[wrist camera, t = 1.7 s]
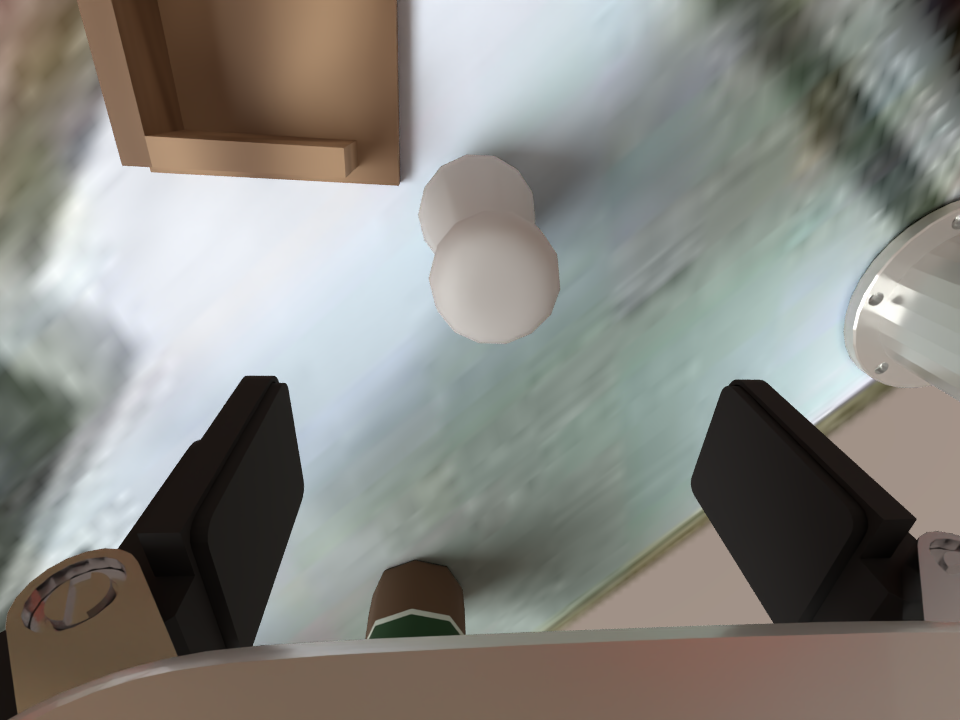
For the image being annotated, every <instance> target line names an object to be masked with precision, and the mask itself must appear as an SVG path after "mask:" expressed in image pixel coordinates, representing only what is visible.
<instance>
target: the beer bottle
mask: <svg viewBox="0 0 960 720" xmlns="http://www.w3.org/2000/svg"><path fill="white" fill-rule="evenodd" d="M452 635H466V633H465V608H464V599H463V589H462V588H461V586H460V585H459V583H458V582H457V580H456V579H455V578H454V576H453V575H452V573H451V572H450V571H449V569H448V568H447V567H446V566H441V565H437V564H432V563H427V562H422V561H418V560H414V561H411V562H408V563H405V564H402V565H399V566H396V567H393V568H390V569H388V570H385V571H384V573H383V574H382V576H381V579H380V581H379V583H378V585H377V587H376V590H375V592H374V594H373V597H372V602H371V607H370V612H369V617H368V624H367V631H366V638H365V639H382V638H405V637H428V636H452Z"/></svg>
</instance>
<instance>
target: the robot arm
mask: <svg viewBox="0 0 960 720" xmlns="http://www.w3.org/2000/svg"><path fill="white" fill-rule="evenodd" d="M843 332H844V340H845V347H846V349H847V352H848V354H849V356H850V359H851V360H852V361H853V362H854V363H855V365H856V366H857V367H858V368H859V369H860V370H862V371H863V372H864V373H866V374H867V375H869V376H870V377H871V378H873V379H875V380H877V381H879V382H881V383H883V384H885V385H890V386H895V387H899V388H918V387H926V386H935V387H936V388H938V389H940V390H942V391H943V392H945V393H946V394H948V395H950V396H951V397H953V398H955V399H956V400H958V401H960V200H959V201H956V202H953V203H950V204H948V205H946V206H944V207H942V208H940V209H938V210H936V211H934V212H932V213H930V214H928V215H927V216H925V217H924V218H922V219H921V220H919V221H917V222H916V223H914V224H913V225H911V226H910V227H908V228H907V229H906V230H905V231H904V232H902V233H901V234H900V235H899V236H898V237H897V238H895V239H894V240H893V241H892V242H891V243H890V244H889V245H888V246H887V247H886V248H885V249H884V250H883V251H882V252H881V253H880V254H879V255H878V257H877V258H876V259H875V260H874V261H873V262H872V264H871V265H870V266H869V268H868V269H867V271H866V272H865V273H864V275H863V276H862V278H861V279H860V281H859V283H858V285H857V287H856V289H855V291H854V293H853V295H852V297H851V299H850V302H849V305H848V309H847V312H846V315H845V323H844V331H843ZM691 488H692V491H693V494H694V496H695V497H696V499H697V500H698V502H699V504H700V505H701V507H702V509H703V510H704V512H705V513H706V515H707V517H708V518H709V520H710V521H711V523H712V525H713V526H714V528H715V530H716V531H717V533H718V534H719V536H720V537H721V539H722V541H723V542H724V544H725V546H726V547H727V549H728V550H729V552H730V553H731V555H732V557H733V558H734V560H735V562H736V563H737V565H738V567H739V568H740V570H741V571H742V573H743V575H744V576H745V578H746V579H747V581H748V582H749V584H750V586H751V588H752V589H753V591H754V592H755V594H756V596H757V597H758V599H759V600H760V602H761V604H762V605H763V607H764V609H765V610H766V612H767V613H768V615H769V617H770V618H771V620H772V621H773V623H774V624H746V625H714V626H685V627H657V628H629V629H602V630H575V631H549V632H522V633H499V634H475V635H452V636H428V637H405V638H382V639H360V640H344V641H327V642H310V643H293V644H277V645H261V646H253V643H254V640H255V637H256V634H257V632H258V629H259V626H260V623H261V620H262V617H263V614H264V611H265V608H266V605H267V602H268V599H269V596H270V593H271V590H272V587H273V584H274V581H275V578H276V575H277V572H278V569H279V567H280V564H281V561H282V558H283V555H284V552H285V549H286V546H287V543H288V540H289V537H290V534H291V531H292V528H293V525H294V522H295V519H296V516H297V513H298V510H299V507H300V504H301V502H302V498H303V493H304V480H303V474H302V468H301V462H300V456H299V450H298V444H297V438H296V432H295V426H294V420H293V414H292V408H291V402H290V396H289V390H288V386H287V384H286V383H279V381H278V379H277V377H275V376H245V377H244V378H243V379H242V380H241V382H240V383H239V385H238V386H237V387H236V389H235V390H234V392H233V393H232V395H231V396H230V398H229V399H228V401H227V402H226V404H225V405H224V406H223V408H222V409H221V411H220V412H219V414H218V415H217V417H216V418H215V420H214V421H213V423H212V424H211V426H210V427H209V428H208V430H207V431H206V433H205V434H204V436H203V437H202V439H201V440H198V441H195V442H194V443H193V444H192V445H191V446H190V447H189V448H188V450H187V451H186V452H185V454H184V455H183V457H182V458H181V460H180V461H179V462H178V464H177V465H176V467H175V468H174V469H173V471H172V472H171V474H170V475H169V477H168V478H167V479H166V481H165V482H164V484H163V485H162V487H161V488H160V489H159V491H158V492H157V494H156V495H155V497H154V498H153V499H152V501H151V502H150V504H149V505H148V507H147V508H146V509H145V511H144V512H143V514H142V515H141V516H140V518H139V519H138V521H137V522H136V524H135V525H134V526H133V528H132V529H131V531H130V532H129V534H128V535H127V536H126V538H125V539H124V541H123V542H122V544H121V545H120V546H119V548H118V549H106V548H104V549H98V550H93V551H87V552H84V553H81V554H79V555H76V556H73V557H70V558H68V559H66V560H64V561H62V562H60V563H58V564H56V565H54V566H53V567H51V568H49V569H47V570H46V571H45V572H43V573H42V574H41V575H39V576H38V577H37V578H35V579H34V580H33V581H31V582H30V583H29V584H28V585H27V586H26V587H25V588H24V590H23V591H22V592H21V593H20V594H19V595H18V596H17V597H16V599H15V600H14V602H13V604H12V606H11V607H10V609H9V611H8V613H7V620H6V630H5V631H3V632H1V633H0V720H960V536H959V535H955V534H952V533H946V532H939V531H934V532H926V533H924V534H923V535H921V536H920V537H919V538H918V539H917V540H916V539H915V538H914V537H913V536H912V535H911V534H910V533H909V530H910V528H911V527H912V526H913V524H914V523H915V521H916V518H915V517H914V516H913V515H912V514H911V513H910V512H909V511H908V510H906V509H905V508H904V507H903V506H902V505H901V504H900V503H899V502H898V501H896V500H895V499H894V498H893V497H892V496H891V495H890V494H889V493H888V492H886V490H884V489H883V488H882V487H881V486H880V485H879V484H878V483H877V482H876V481H874V480H873V479H872V478H871V477H870V476H869V475H868V474H867V473H866V472H865V471H863V470H862V469H861V468H860V467H859V466H858V465H857V464H856V463H855V462H854V461H852V460H851V459H850V458H849V457H848V456H847V455H846V454H845V453H844V452H843V451H841V450H840V449H839V448H838V447H837V446H836V445H835V444H834V443H833V442H832V441H830V440H829V439H828V438H827V437H826V436H825V435H824V434H823V433H822V432H820V431H819V430H818V429H817V428H816V427H815V426H814V425H813V424H812V423H811V422H809V421H808V420H807V419H806V418H805V417H804V416H803V415H802V414H801V413H800V412H798V411H797V410H796V409H795V408H794V407H793V406H792V405H791V404H790V403H789V402H787V401H786V400H785V399H784V398H783V397H782V396H781V395H780V394H779V393H778V392H776V391H775V390H774V389H773V388H772V387H771V386H770V385H769V384H768V383H766V382H765V381H763V380H734V381H732V382H731V383H730V384H729V386H726V387H724V388H723V390H722V392H721V394H720V397H719V400H718V403H717V406H716V409H715V411H714V414H713V417H712V420H711V423H710V426H709V429H708V432H707V434H706V437H705V440H704V443H703V446H702V449H701V452H700V455H699V458H698V460H697V463H696V466H695V469H694V472H693V475H692V478H691Z"/></svg>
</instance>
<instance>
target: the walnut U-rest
mask: <svg viewBox="0 0 960 720" xmlns="http://www.w3.org/2000/svg"><path fill="white" fill-rule="evenodd" d="M77 3H78V6H79V10H80V13H81V17H82V21H83V24H84V28H85V32H86V35H87V39H88V43H89V46H90V50H91V53H92V57H93V61H94V64H95V68H96V72H97V75H98V79H99V83H100V86H101V90H102V94H103V97H104V101H105V104H106V108H107V112H108V115H109V119H110V123H111V126H112V130H113V134H114V137H115V141H116V145H117V148H118V152H119V155H120V159H121V163H122V166H140V167H150V170H151V172H158V173H177V174H195V175H214V176H232V177H250V178H269V179H287V180H305V181H324V182H342V183H360V184H379V185H397V186H399V184H400V150H399V86H398V22H397V0H77Z"/></svg>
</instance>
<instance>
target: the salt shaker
mask: <svg viewBox="0 0 960 720" xmlns="http://www.w3.org/2000/svg"><path fill="white" fill-rule="evenodd" d="M418 216H419V220H420V224H421V228H422V232H423V236H424V240H425V242H426V243H427V244H428V246H429V247H430V248H431V250H432V251H433V253H434V254H435V256H434V260H433V263H432V267H431V271H430V275H429V282H430V286H431V290H432V294H433V298H434V302H435V306H436V308H437V310H438V312H439V313H440V315H441V316H442V317H443V318H444V320H445V321H446V322H447V323H448V324H449V326H450V327H451V328H452V329H453V330H454V332H455V333H458V334H460V335H462V336H464V337H467V338H469V339H471V340H473V341H476V342H478V343H493V344H507V343H509V342H512V341H514V340H517V339H519V338H522V337H524V336H526V335H529V334H531V333H532V332H533V331H534V330H535V329H536V328H537V327H539V326H540V325H541V324H542V323H543V322H544V321H545V320H546V319H547V318H548V317H549V316H550V315H551V313H552V310H553V307H554V305H555V302H556V299H557V296H558V294H559V291H560V281H559V270H558V259H557V253H556V252H555V251H554V249H553V248H552V246H551V245H550V243H549V242H548V240H547V239H546V237H545V236H544V234H543V233H542V231H541V230H540V229H539V228H538V227H537V226H536V225H535V210H534V201H533V192H532V191H531V189H530V188H529V186H528V185H527V183H526V182H525V180H524V178H523V177H522V175H521V174H520V172H519V171H518V170H517V169H516V168H514V167H512V166H511V165H509V164H507V163H506V162H504V161H502V160H501V159H499V158H497V157H496V156H489V155H465V156H462V157H460V158H458V159H456V160H454V161H451V162H449V163H447V164H445V165H443V166H441V167H440V168H439V170H438V171H437V172H436V174H435V175H434V176H433V177H432V179H431V180H430V181H429V183H428V184H427V185H426V186H425V188H424V191H423V196H422V200H421V204H420V209H419V213H418Z"/></svg>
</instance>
